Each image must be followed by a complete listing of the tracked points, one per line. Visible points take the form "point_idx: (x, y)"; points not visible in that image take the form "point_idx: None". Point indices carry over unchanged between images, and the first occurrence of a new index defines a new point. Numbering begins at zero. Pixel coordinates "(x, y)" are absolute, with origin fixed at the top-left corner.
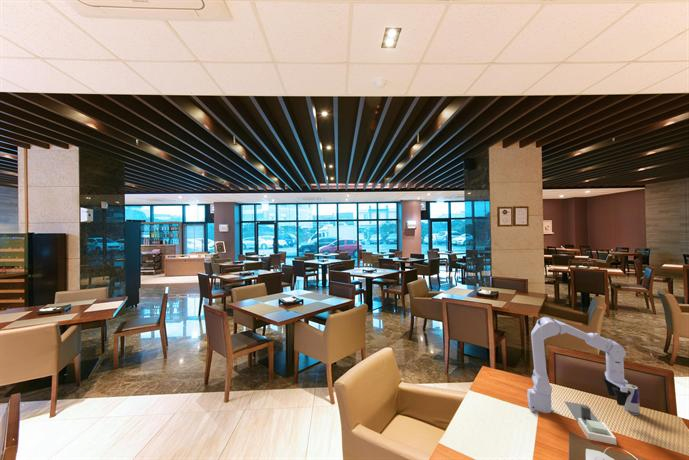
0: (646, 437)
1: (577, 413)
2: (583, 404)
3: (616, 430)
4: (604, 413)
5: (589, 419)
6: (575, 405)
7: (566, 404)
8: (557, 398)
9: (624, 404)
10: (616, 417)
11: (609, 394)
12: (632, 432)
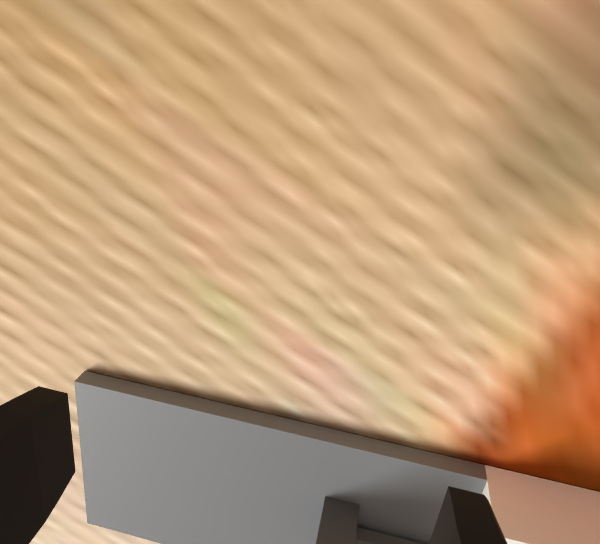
0: (596, 108)
1: (267, 538)
2: (78, 405)
3: (475, 360)
4: (160, 278)
5: (356, 514)
6: (127, 479)
7: (137, 534)
8: None
9: (498, 532)
10: (205, 198)
11: (63, 488)
12: (497, 215)
